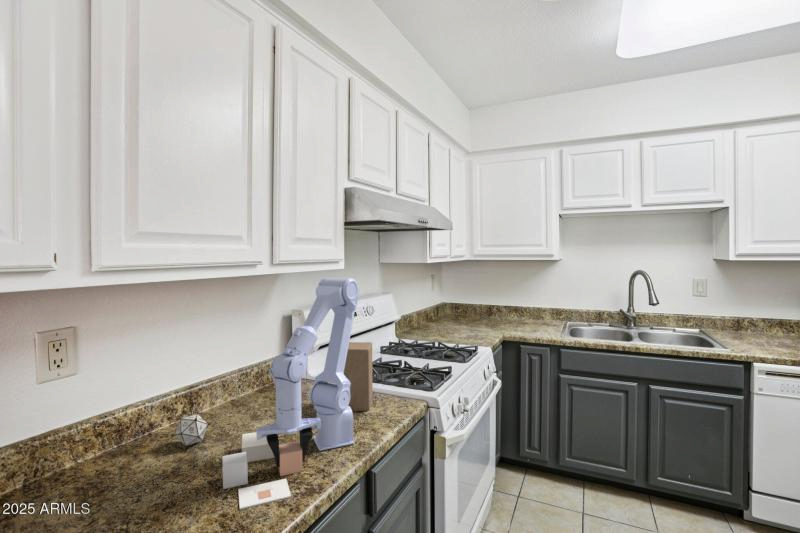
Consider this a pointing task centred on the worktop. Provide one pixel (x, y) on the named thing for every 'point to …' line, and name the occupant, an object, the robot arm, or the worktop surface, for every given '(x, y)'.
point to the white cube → (235, 470)
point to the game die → (191, 429)
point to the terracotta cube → (290, 458)
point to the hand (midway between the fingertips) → (289, 462)
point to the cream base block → (256, 447)
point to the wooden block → (359, 375)
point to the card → (263, 493)
